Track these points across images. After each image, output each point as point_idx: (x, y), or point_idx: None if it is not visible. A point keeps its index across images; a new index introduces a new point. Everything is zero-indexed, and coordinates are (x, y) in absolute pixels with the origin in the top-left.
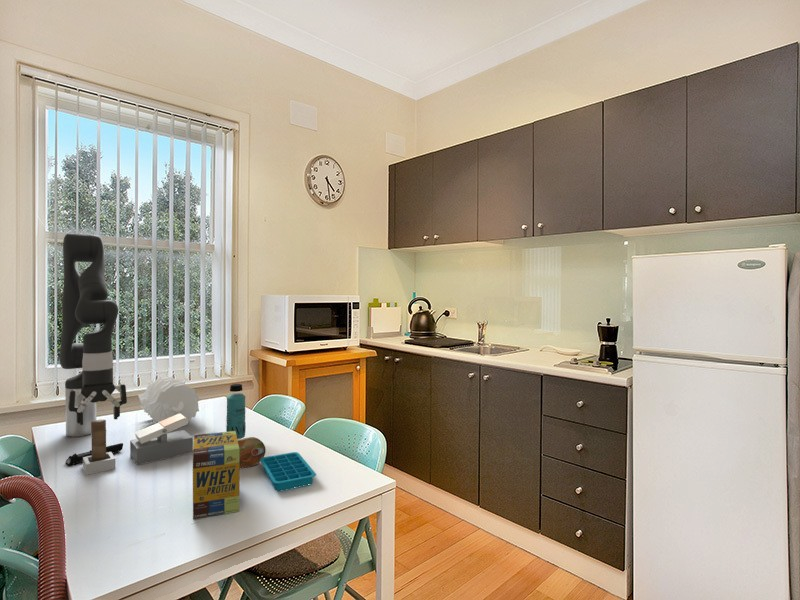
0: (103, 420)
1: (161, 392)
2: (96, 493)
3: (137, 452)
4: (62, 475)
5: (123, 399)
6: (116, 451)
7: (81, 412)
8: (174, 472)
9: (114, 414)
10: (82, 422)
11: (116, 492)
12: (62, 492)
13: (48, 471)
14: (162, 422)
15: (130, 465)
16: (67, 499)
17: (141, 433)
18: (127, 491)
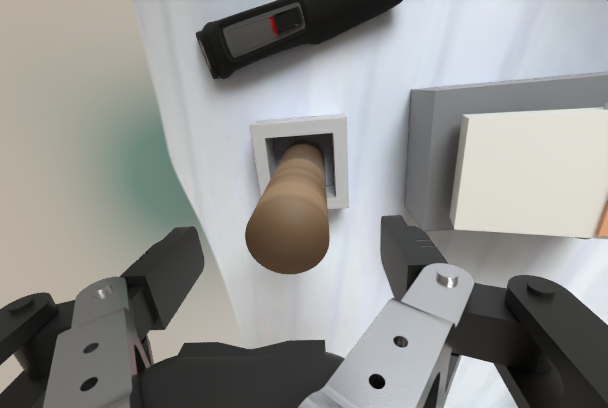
0: (315, 237)
1: None
2: (291, 323)
3: (419, 223)
4: (207, 162)
5: (528, 394)
6: (375, 15)
7: (153, 323)
8: None
9: (388, 266)
10: (195, 275)
11: (327, 339)
12: (225, 280)
13: (159, 93)
14: None
15: (387, 194)
16: (239, 319)
17: (484, 180)
18: (347, 346)
